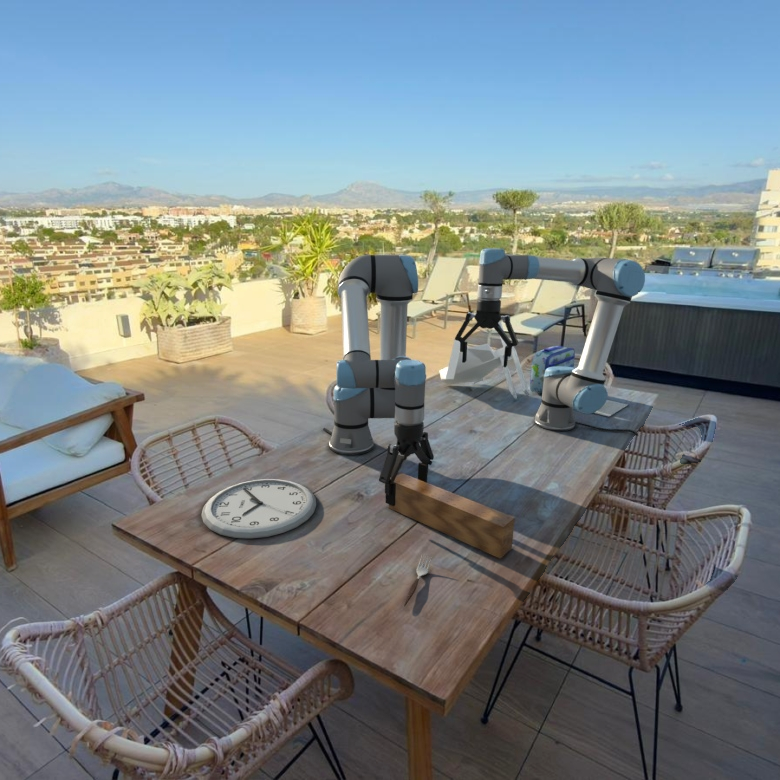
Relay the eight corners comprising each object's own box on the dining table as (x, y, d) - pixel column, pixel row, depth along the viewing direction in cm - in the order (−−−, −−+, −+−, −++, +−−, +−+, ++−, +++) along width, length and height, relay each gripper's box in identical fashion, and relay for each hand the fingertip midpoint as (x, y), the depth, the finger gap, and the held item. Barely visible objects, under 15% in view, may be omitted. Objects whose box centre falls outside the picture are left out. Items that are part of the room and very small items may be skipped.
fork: (398, 606, 105) (398, 598, 104) (421, 561, 119) (421, 553, 119) (410, 610, 104) (410, 601, 103) (432, 564, 118) (432, 556, 118)
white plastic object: (461, 429, 252) (437, 405, 227) (444, 352, 274) (420, 323, 250) (535, 404, 240) (518, 377, 215) (510, 326, 262) (492, 293, 237)
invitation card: (608, 416, 214) (573, 407, 224) (608, 416, 214) (573, 408, 224) (628, 404, 229) (594, 396, 238) (628, 405, 229) (594, 397, 238)
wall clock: (313, 530, 128) (186, 534, 125) (313, 536, 128) (187, 540, 125) (318, 474, 156) (215, 477, 154) (318, 479, 157) (216, 482, 154)
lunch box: (546, 399, 235) (551, 353, 228) (525, 393, 242) (530, 349, 236) (574, 387, 252) (579, 345, 246) (553, 383, 260) (558, 341, 253)
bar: (511, 548, 125) (515, 517, 122) (500, 558, 121) (503, 527, 118) (401, 500, 146) (402, 472, 144) (388, 507, 142) (389, 479, 139)
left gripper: (426, 405, 145) (423, 474, 152) (365, 430, 127) (364, 507, 134) (448, 411, 141) (444, 482, 147) (388, 438, 123) (386, 518, 129)
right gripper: (447, 297, 166) (444, 362, 173) (527, 303, 158) (521, 370, 164) (454, 295, 173) (450, 357, 179) (531, 300, 164) (524, 365, 171)
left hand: (406, 494), depth 140 cm, fingers open, 13 cm apart
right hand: (484, 364), depth 172 cm, fingers open, 13 cm apart
